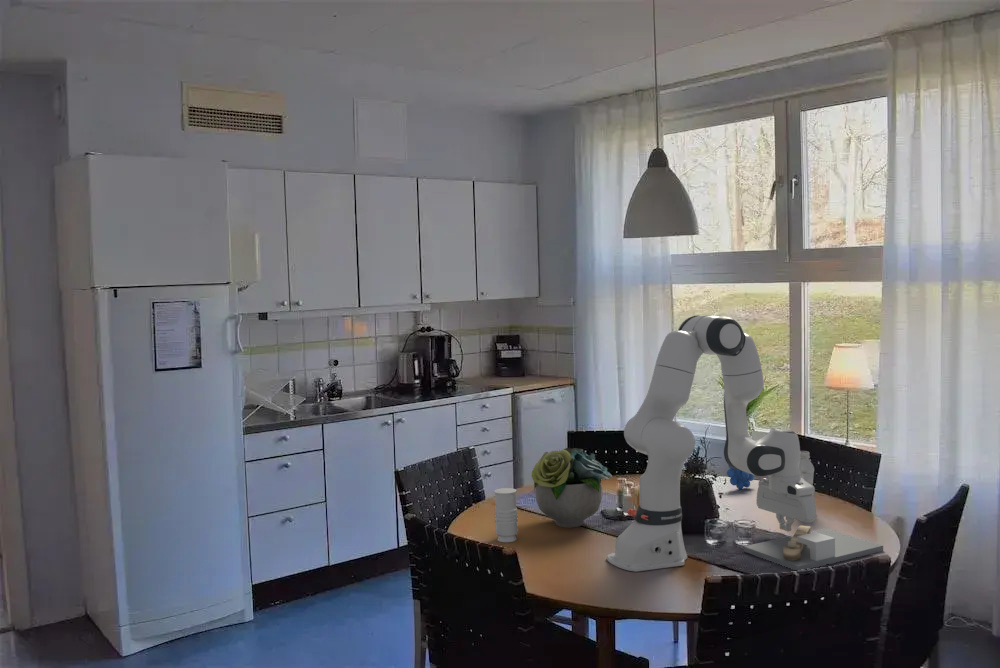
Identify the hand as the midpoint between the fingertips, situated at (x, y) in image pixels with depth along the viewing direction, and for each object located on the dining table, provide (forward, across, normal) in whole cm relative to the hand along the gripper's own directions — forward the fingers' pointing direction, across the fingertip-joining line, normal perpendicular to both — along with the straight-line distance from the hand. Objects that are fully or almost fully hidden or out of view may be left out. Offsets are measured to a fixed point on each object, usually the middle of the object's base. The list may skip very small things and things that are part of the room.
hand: (785, 530), depth 248 cm
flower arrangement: (+3, -48, -45) cm, 66 cm away
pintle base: (+3, +12, -2) cm, 13 cm away
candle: (+3, -45, -69) cm, 82 cm away
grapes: (+3, -51, +30) cm, 59 cm away
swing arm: (+1, +12, -7) cm, 13 cm away
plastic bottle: (+3, -17, +25) cm, 30 cm away
